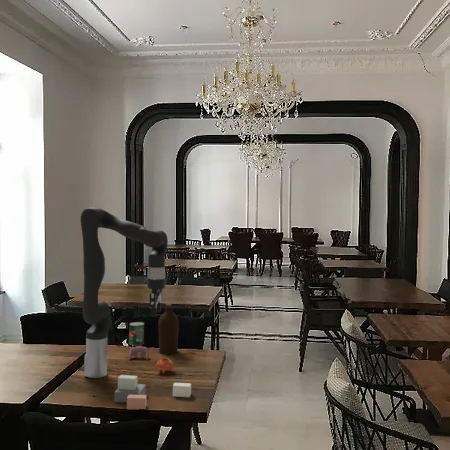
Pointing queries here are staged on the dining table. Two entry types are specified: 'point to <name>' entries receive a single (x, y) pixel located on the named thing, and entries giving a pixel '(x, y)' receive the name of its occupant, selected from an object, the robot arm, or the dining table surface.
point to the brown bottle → (168, 331)
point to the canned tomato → (136, 333)
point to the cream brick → (182, 389)
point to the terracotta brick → (136, 401)
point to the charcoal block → (128, 393)
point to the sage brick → (127, 382)
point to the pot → (164, 364)
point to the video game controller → (136, 349)
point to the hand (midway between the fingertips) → (155, 314)
